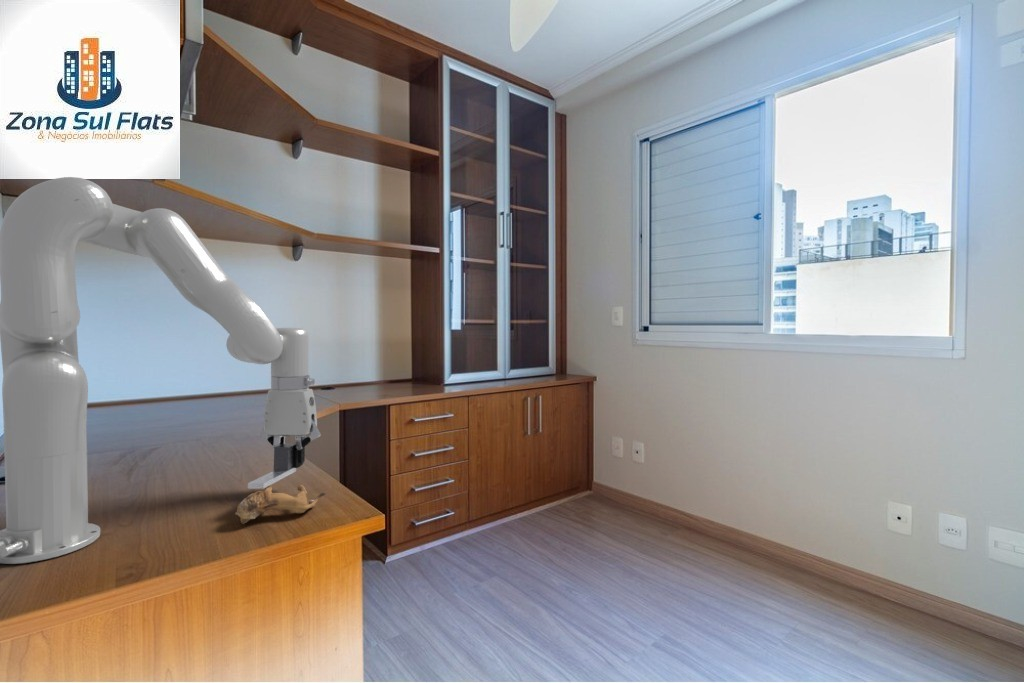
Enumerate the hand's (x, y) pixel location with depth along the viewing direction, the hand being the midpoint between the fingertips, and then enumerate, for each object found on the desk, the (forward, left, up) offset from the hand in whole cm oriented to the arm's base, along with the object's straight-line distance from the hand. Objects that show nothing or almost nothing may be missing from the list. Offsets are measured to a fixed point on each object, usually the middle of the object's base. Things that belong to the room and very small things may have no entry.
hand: (290, 465), depth 105 cm
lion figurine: (-10, -3, -3) cm, 11 cm away
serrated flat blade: (-8, 0, -1) cm, 8 cm away
